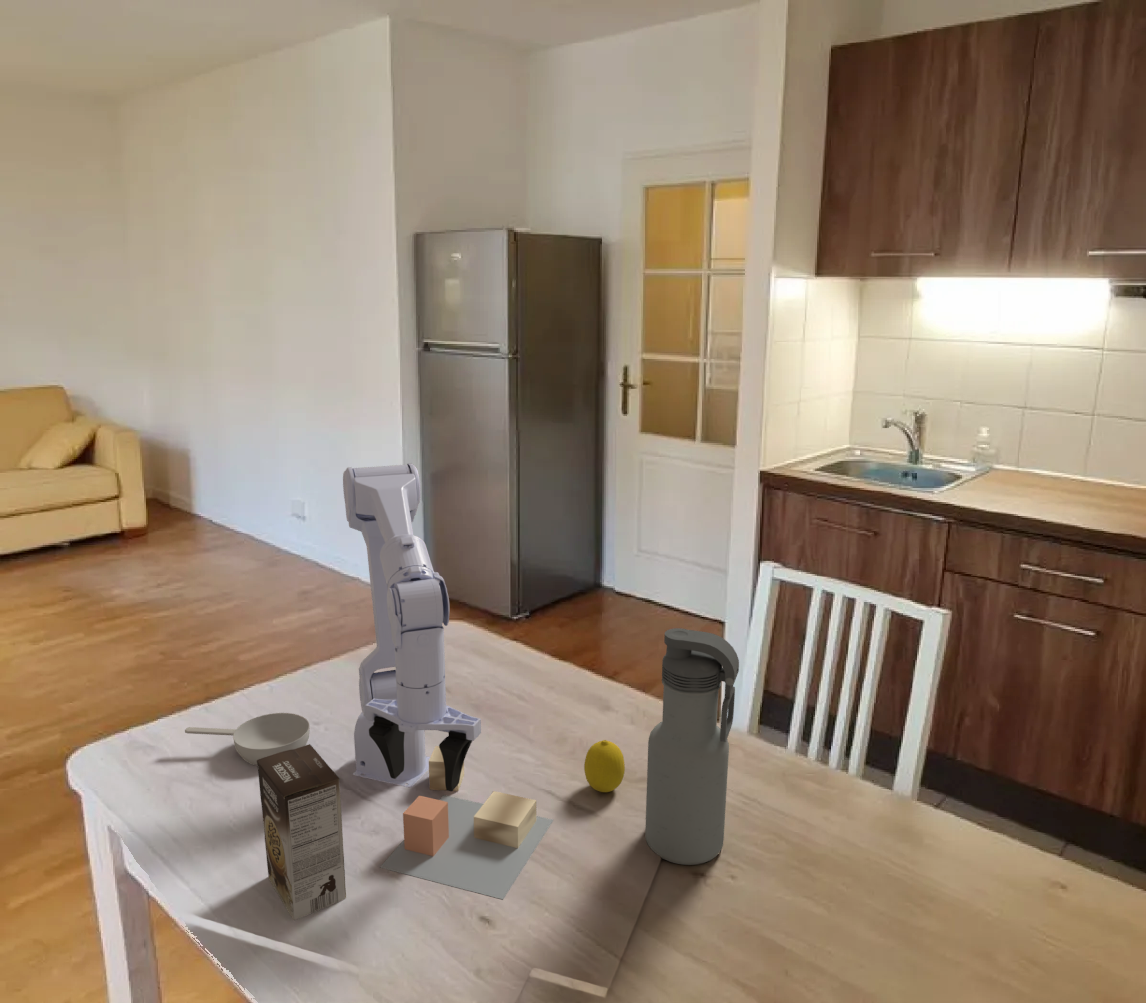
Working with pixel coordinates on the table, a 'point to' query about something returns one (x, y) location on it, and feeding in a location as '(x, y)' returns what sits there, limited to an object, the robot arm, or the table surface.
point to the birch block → (439, 771)
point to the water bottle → (690, 749)
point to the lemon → (604, 766)
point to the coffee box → (302, 830)
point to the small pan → (264, 735)
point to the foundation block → (505, 819)
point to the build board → (469, 855)
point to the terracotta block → (426, 825)
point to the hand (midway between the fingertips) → (424, 780)
